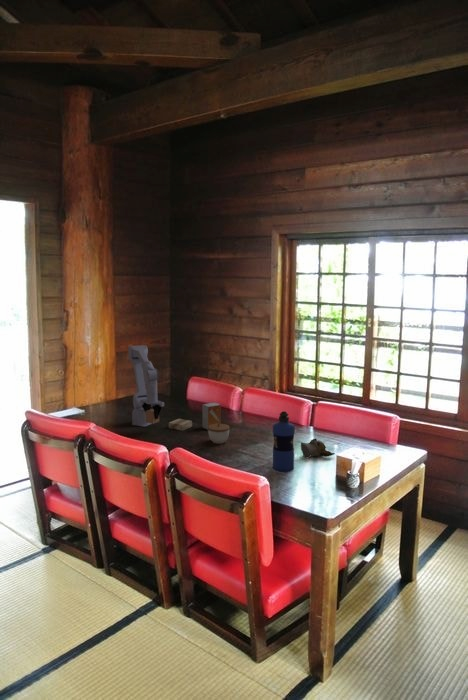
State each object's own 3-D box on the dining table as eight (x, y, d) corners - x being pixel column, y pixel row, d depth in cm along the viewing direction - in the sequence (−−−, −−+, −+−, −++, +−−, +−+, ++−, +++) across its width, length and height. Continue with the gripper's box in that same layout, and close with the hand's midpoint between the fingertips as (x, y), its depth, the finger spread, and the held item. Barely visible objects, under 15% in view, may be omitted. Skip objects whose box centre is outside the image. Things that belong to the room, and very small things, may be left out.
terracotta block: (145, 422, 277) (145, 411, 276) (151, 419, 282) (151, 409, 281) (153, 423, 275) (152, 412, 274) (159, 421, 279) (159, 410, 278)
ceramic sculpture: (296, 435, 246) (326, 434, 250) (295, 453, 247) (324, 452, 251) (306, 442, 235) (336, 441, 240) (304, 461, 237) (334, 460, 241)
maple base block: (168, 428, 287) (168, 422, 286) (178, 424, 294) (178, 418, 294) (182, 431, 282) (182, 425, 282) (192, 427, 290) (192, 421, 289)
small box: (208, 430, 283) (208, 406, 281) (202, 427, 288) (202, 404, 286) (221, 427, 287) (221, 404, 285) (215, 425, 292) (214, 402, 290)
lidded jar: (224, 446, 257) (224, 427, 256) (204, 443, 261) (204, 425, 260) (232, 439, 267) (232, 421, 266) (213, 437, 271) (212, 419, 270)
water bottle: (292, 464, 234) (293, 409, 230) (295, 472, 224) (296, 414, 221) (271, 464, 233) (271, 409, 230) (273, 472, 224) (274, 415, 220)
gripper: (136, 392, 276) (136, 417, 278) (158, 396, 269) (158, 421, 271) (144, 390, 282) (145, 414, 284) (166, 393, 275) (167, 418, 277)
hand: (152, 418), depth 278 cm, fingers closed on terracotta block, 5 cm apart
